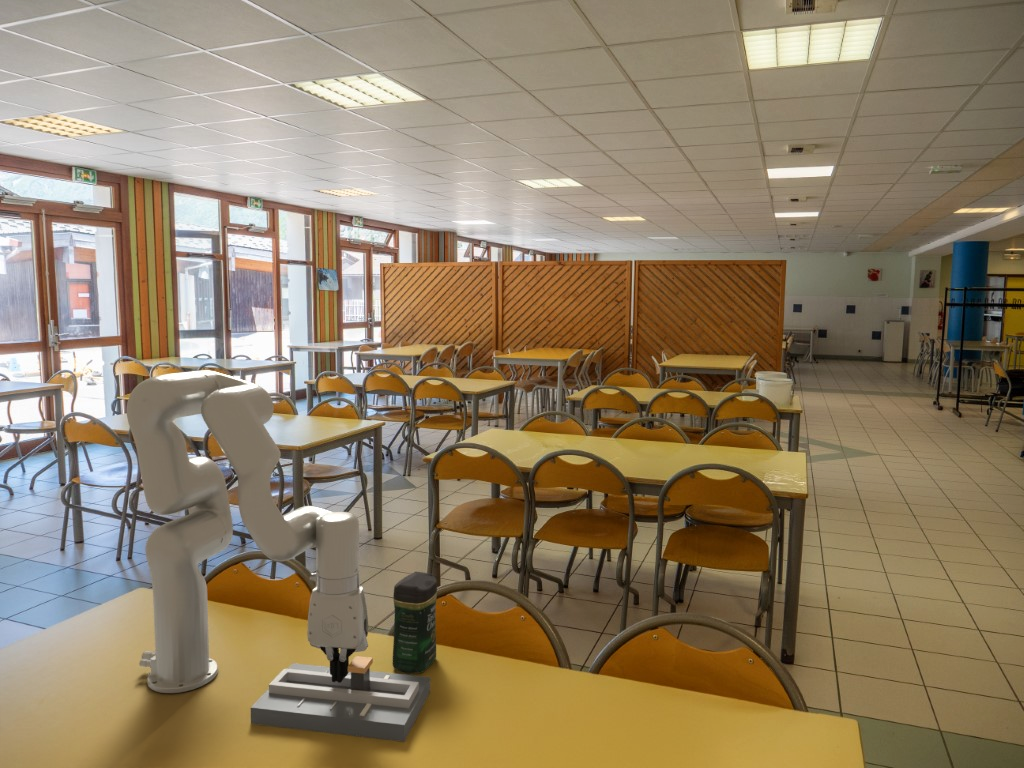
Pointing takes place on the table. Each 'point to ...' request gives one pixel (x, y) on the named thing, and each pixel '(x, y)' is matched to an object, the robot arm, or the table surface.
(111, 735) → the table surface
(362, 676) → the fader
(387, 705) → the console
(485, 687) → the table surface
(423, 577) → the coffee jar
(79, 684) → the table surface
